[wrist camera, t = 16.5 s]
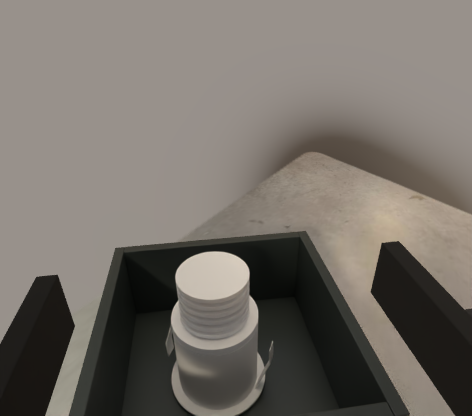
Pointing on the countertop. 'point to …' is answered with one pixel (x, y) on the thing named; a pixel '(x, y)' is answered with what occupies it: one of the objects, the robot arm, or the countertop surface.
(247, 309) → the downlight
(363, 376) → the dark grey open box
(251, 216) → the countertop surface
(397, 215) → the countertop surface
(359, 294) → the countertop surface
